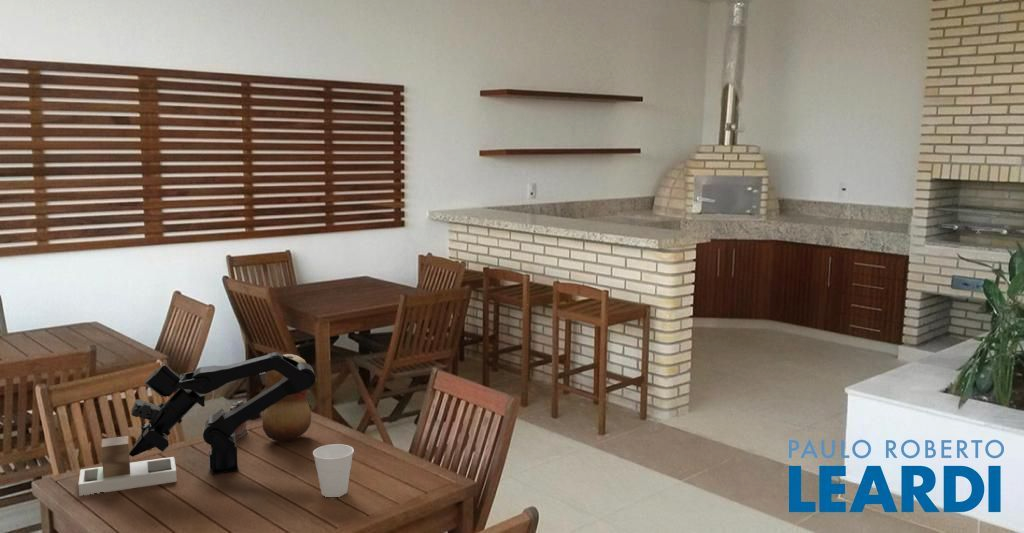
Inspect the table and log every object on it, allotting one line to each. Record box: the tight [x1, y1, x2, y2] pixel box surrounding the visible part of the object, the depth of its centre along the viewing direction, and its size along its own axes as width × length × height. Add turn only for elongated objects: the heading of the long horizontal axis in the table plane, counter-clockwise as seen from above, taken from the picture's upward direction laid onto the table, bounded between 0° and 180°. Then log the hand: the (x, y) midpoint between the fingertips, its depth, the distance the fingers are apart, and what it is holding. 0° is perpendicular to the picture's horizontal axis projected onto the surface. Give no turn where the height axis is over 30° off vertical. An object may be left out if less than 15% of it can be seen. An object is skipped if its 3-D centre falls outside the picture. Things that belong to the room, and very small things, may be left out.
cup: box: [312, 443, 355, 498], centre depth 203 cm, size 10×10×11 cm
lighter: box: [229, 400, 248, 441], centre depth 241 cm, size 8×3×10 cm, turn 168°
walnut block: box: [101, 435, 131, 478], centre depth 207 cm, size 6×6×8 cm
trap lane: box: [77, 456, 178, 497], centre depth 209 cm, size 22×10×3 cm, turn 115°
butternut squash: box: [262, 353, 312, 442], centre depth 238 cm, size 14×13×25 cm
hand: (130, 455), depth 209 cm, fingers closed
